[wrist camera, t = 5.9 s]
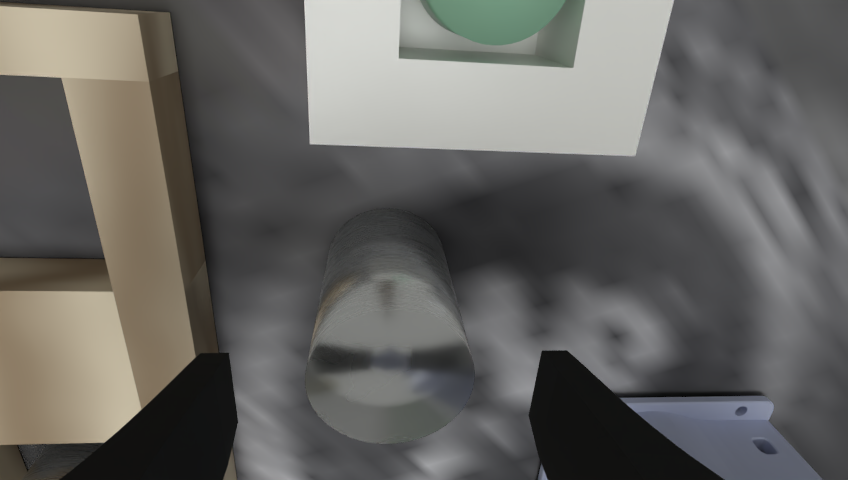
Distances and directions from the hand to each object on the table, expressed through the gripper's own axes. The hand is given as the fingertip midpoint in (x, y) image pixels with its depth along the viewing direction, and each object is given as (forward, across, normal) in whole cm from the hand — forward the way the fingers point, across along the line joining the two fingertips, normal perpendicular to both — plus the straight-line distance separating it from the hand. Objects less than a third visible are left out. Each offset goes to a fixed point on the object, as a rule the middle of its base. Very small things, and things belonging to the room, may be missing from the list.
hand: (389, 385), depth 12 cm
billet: (+6, 0, 0) cm, 6 cm away
